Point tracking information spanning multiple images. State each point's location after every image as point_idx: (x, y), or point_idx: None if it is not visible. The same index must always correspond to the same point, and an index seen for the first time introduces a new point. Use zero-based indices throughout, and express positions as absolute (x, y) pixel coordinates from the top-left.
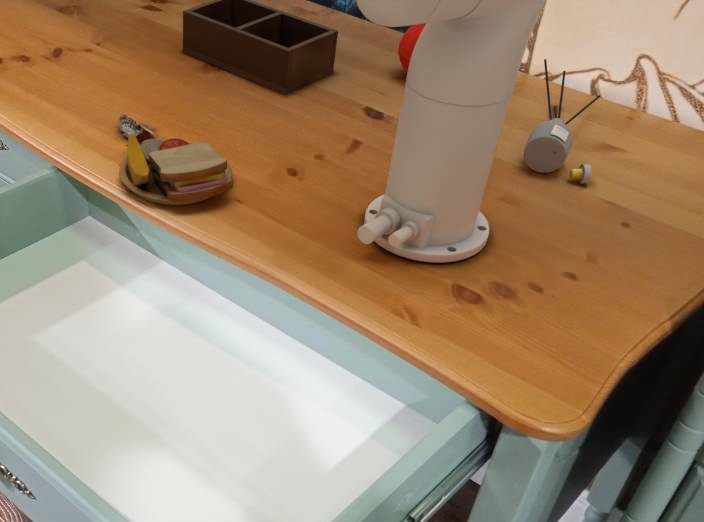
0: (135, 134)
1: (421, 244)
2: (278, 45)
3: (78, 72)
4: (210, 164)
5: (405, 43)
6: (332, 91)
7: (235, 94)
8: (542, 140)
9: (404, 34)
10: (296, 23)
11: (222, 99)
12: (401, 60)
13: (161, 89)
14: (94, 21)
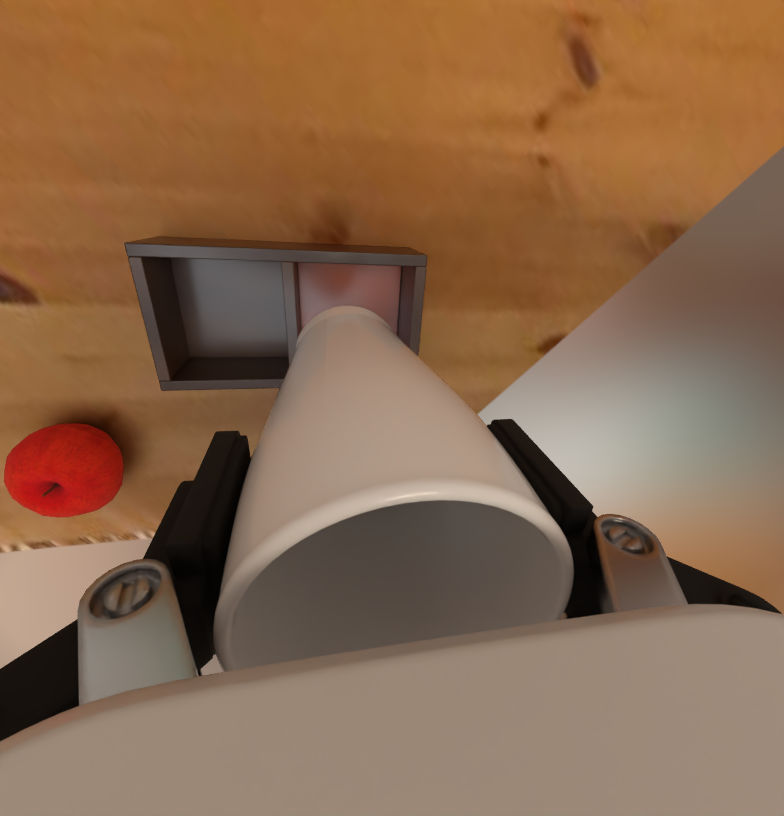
0: None
1: None
2: (162, 250)
3: (497, 10)
4: None
5: (69, 442)
6: (126, 310)
7: (215, 170)
8: None
9: (90, 460)
10: (254, 376)
11: (211, 131)
12: (88, 428)
13: (323, 75)
14: (602, 239)
